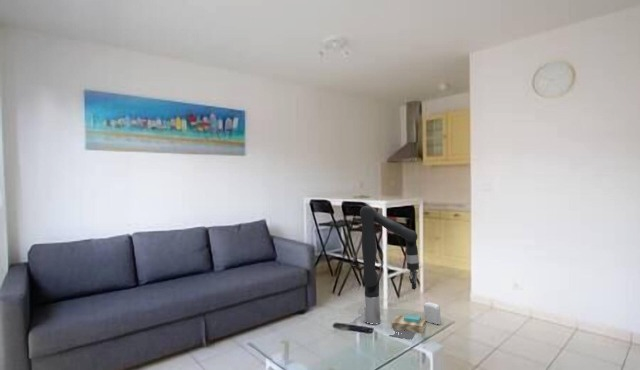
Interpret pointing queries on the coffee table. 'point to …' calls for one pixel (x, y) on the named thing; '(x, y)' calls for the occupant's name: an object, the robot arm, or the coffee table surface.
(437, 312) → the photo printer
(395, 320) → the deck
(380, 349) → the coffee table surface
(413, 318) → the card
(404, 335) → the mat
